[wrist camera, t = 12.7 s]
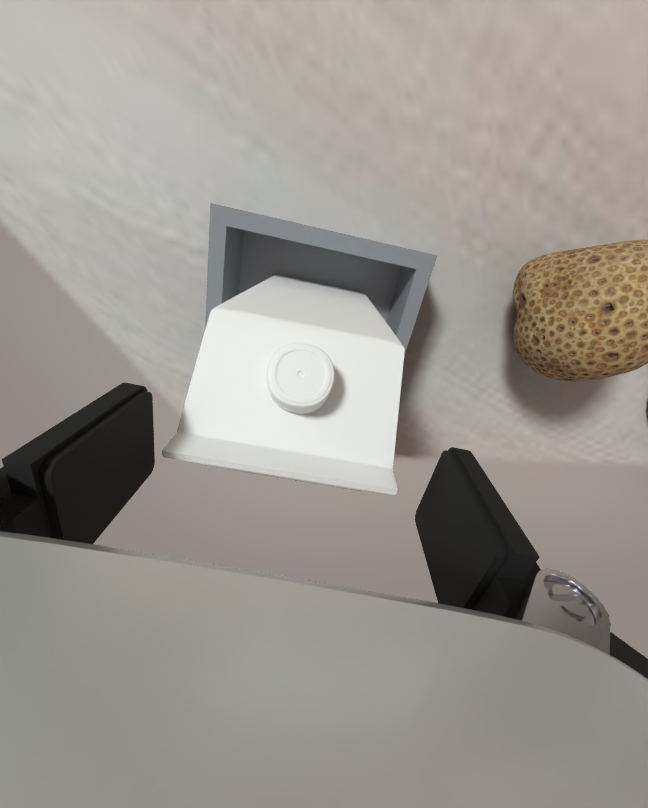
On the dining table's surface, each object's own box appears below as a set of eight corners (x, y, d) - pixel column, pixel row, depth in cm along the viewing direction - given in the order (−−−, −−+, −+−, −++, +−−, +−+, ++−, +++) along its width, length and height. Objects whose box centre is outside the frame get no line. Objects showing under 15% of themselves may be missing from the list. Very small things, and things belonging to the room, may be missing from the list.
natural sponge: (573, 361, 28) (688, 415, 19) (472, 354, 28) (539, 406, 19) (622, 245, 24) (795, 244, 15) (504, 237, 24) (608, 231, 15)
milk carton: (345, 375, 28) (369, 569, 11) (265, 360, 28) (164, 539, 11) (365, 292, 25) (438, 387, 8) (275, 273, 25) (157, 334, 8)
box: (417, 253, 25) (437, 255, 20) (369, 413, 31) (376, 442, 26) (233, 211, 24) (210, 203, 19) (221, 385, 30) (201, 410, 25)
